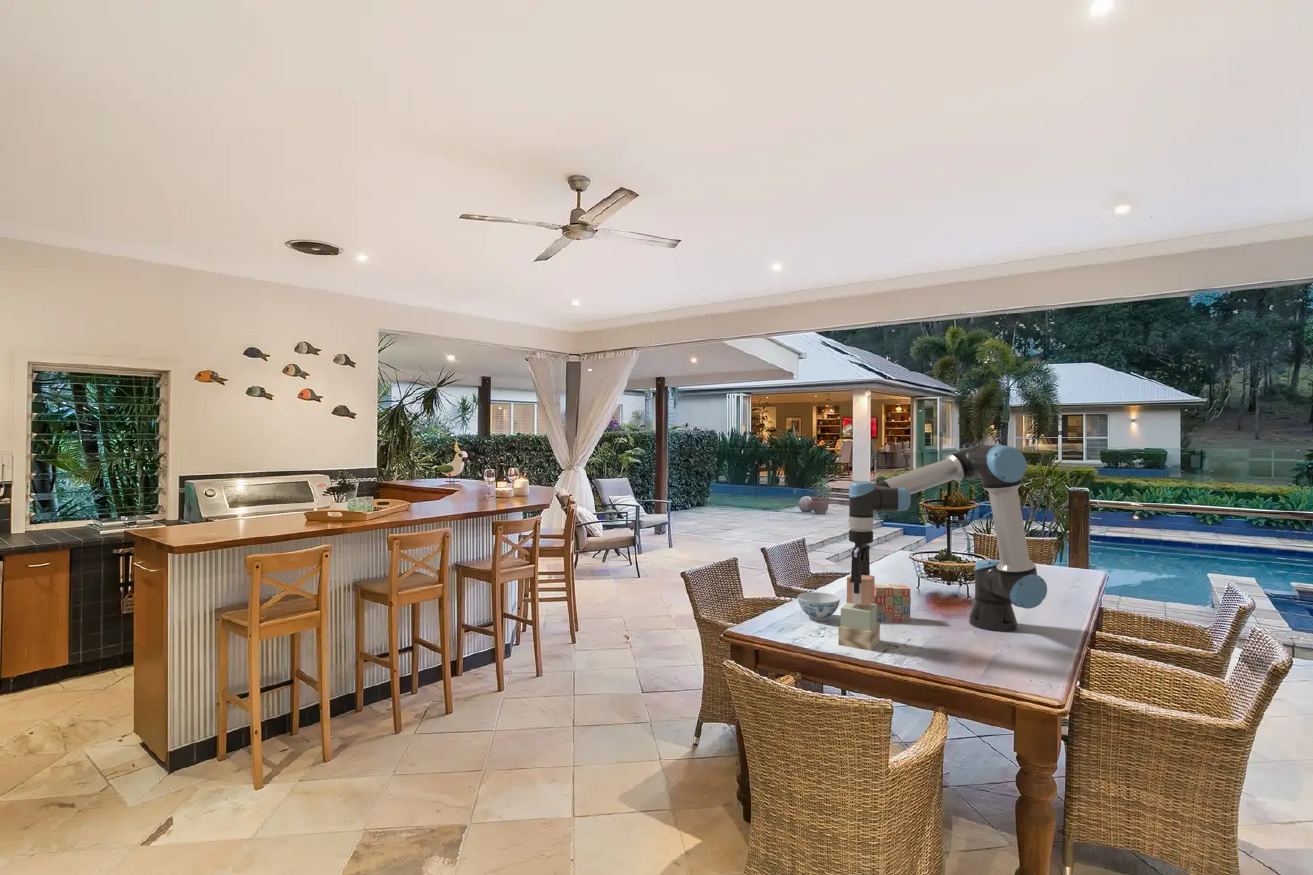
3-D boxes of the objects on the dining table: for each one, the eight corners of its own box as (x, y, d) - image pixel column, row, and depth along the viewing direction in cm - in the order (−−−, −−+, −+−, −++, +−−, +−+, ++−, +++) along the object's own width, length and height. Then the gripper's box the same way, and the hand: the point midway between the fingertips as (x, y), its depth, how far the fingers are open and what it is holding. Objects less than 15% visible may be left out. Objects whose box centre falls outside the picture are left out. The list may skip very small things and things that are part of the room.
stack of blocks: (850, 621, 238) (850, 587, 238) (846, 616, 244) (846, 583, 244) (910, 622, 237) (910, 588, 236) (904, 617, 243) (905, 584, 243)
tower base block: (879, 641, 215) (879, 622, 215) (870, 651, 205) (870, 632, 205) (849, 635, 221) (849, 618, 220) (838, 645, 210) (838, 626, 210)
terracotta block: (874, 600, 214) (874, 576, 214) (869, 605, 208) (869, 580, 208) (852, 597, 218) (852, 573, 218) (846, 602, 212) (846, 577, 212)
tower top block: (876, 622, 216) (876, 604, 216) (869, 631, 206) (869, 612, 206) (848, 618, 220) (848, 600, 220) (840, 626, 211) (840, 608, 210)
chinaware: (823, 611, 250) (823, 590, 250) (848, 621, 236) (848, 600, 236) (789, 614, 245) (789, 594, 245) (813, 626, 231) (813, 604, 231)
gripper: (857, 525, 223) (856, 592, 223) (840, 532, 206) (840, 605, 206) (880, 526, 219) (879, 595, 219) (865, 534, 202) (864, 609, 202)
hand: (860, 600), depth 213 cm, fingers closed on terracotta block, 7 cm apart
